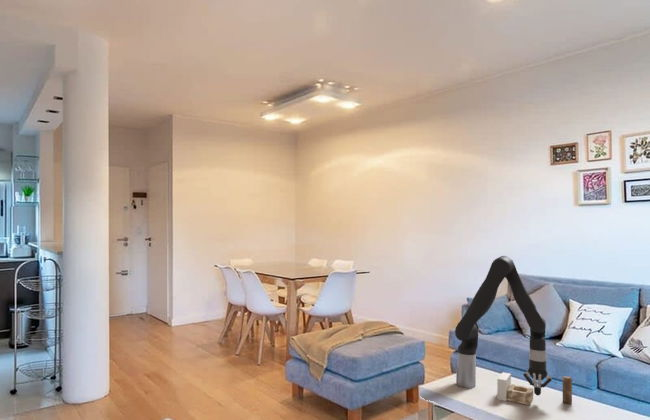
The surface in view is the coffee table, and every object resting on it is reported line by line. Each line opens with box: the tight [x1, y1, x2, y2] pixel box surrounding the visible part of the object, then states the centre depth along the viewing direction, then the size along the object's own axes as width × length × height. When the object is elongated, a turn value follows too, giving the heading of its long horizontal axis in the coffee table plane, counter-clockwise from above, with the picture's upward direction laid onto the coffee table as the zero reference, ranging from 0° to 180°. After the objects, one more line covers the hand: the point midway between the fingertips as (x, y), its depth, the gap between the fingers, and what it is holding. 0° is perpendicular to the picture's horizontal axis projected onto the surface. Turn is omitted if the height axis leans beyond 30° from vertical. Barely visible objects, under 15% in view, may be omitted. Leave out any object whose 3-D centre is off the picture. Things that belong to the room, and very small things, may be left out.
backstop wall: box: [496, 372, 512, 402], centre depth 223 cm, size 4×12×10 cm, turn 147°
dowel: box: [562, 375, 573, 405], centre depth 216 cm, size 4×4×12 cm
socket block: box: [507, 383, 534, 406], centre depth 218 cm, size 10×10×5 cm
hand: (537, 394), depth 214 cm, fingers closed
